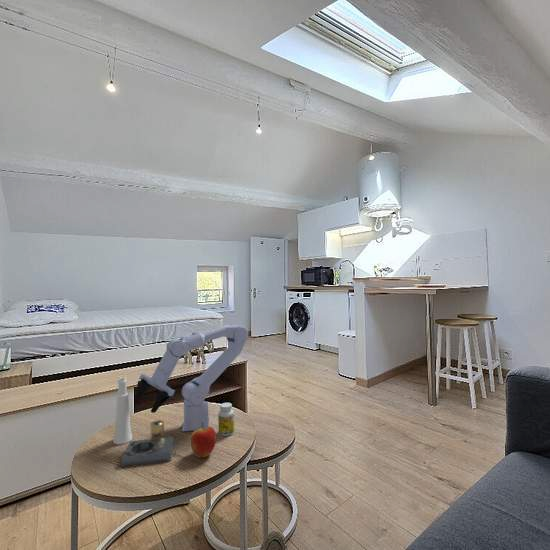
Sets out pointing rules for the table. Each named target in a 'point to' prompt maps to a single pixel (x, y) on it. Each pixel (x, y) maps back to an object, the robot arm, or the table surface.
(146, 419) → the table surface
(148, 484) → the table surface
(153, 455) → the plate
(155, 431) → the bushing
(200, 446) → the apple
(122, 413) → the cosmetic bottle
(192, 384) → the robot arm
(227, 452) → the table surface
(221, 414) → the supplement bottle
